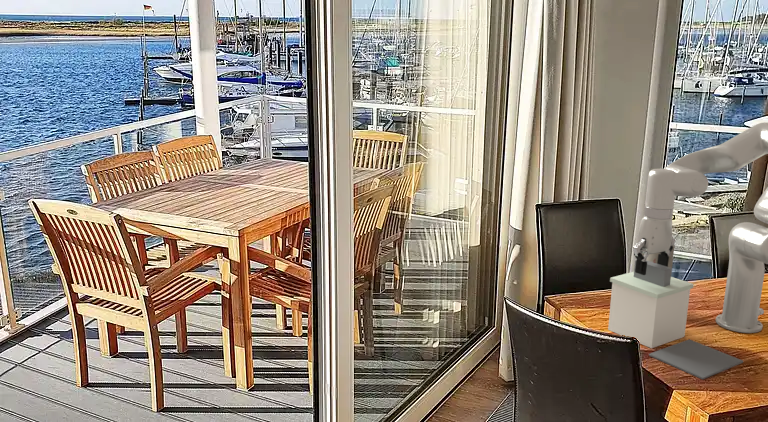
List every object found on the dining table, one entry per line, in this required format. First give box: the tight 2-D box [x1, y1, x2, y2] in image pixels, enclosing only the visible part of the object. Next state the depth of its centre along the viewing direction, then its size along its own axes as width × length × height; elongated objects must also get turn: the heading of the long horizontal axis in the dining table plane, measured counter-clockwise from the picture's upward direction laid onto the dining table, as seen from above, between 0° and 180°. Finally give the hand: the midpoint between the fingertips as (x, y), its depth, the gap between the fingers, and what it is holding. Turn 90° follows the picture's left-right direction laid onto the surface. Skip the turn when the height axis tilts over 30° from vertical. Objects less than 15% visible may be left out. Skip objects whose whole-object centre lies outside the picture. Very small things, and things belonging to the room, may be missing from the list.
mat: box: [648, 338, 744, 380], centre depth 185 cm, size 18×16×1 cm
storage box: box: [607, 282, 691, 349], centre depth 199 cm, size 15×15×15 cm
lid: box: [609, 259, 694, 299], centre depth 197 cm, size 16×16×7 cm
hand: (651, 271), depth 196 cm, fingers open, 9 cm apart
